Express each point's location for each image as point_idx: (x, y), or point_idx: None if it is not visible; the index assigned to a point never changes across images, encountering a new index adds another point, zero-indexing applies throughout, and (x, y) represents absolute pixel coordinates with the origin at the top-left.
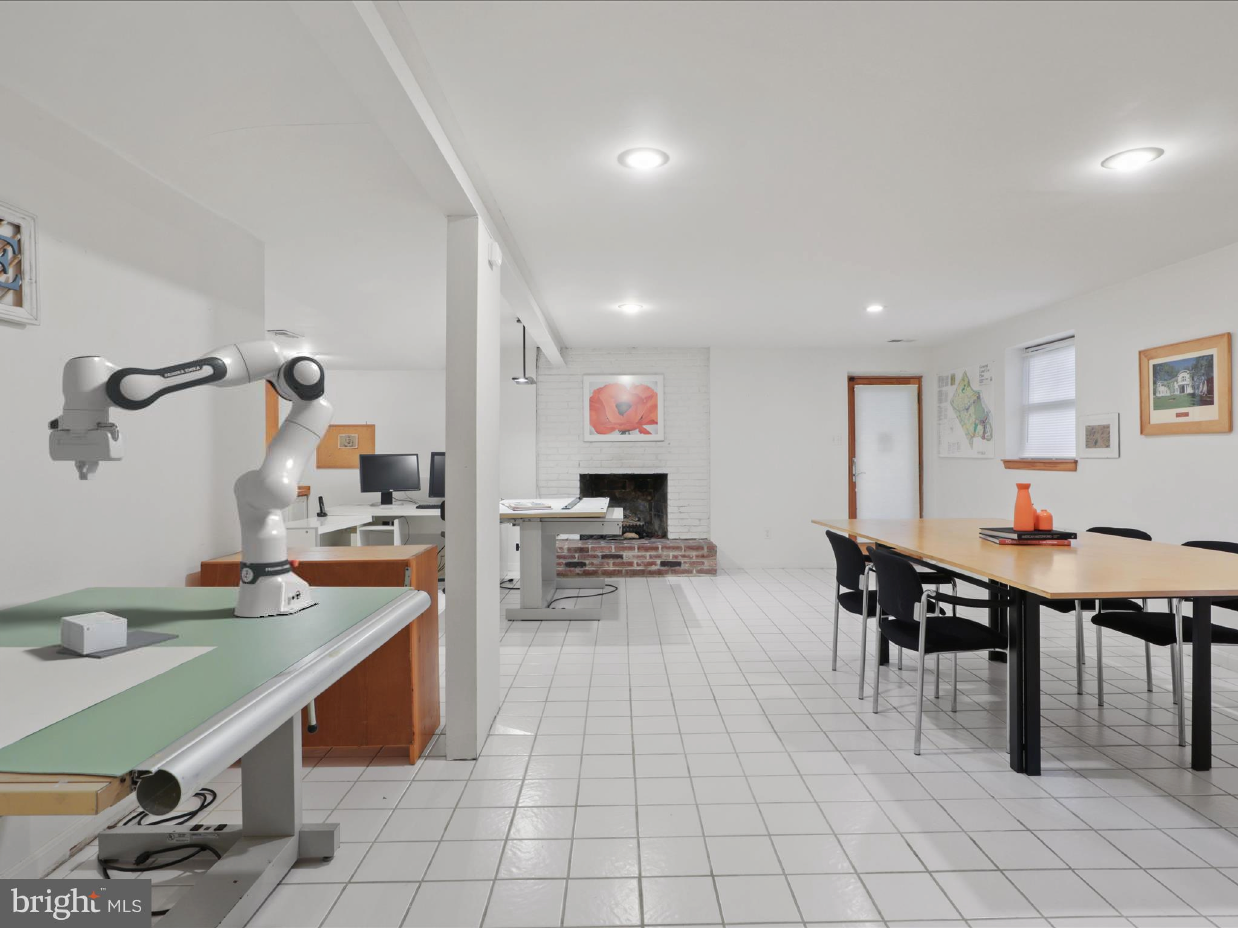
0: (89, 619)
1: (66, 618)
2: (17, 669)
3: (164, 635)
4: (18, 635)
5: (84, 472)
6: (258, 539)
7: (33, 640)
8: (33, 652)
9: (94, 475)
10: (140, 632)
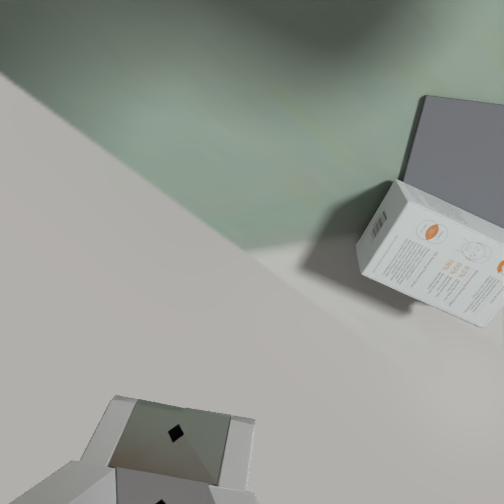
0: (449, 282)
1: (381, 279)
2: (399, 355)
3: None
4: (163, 177)
5: (116, 501)
6: None
7: (240, 205)
8: (329, 276)
9: (249, 458)
10: (452, 114)
